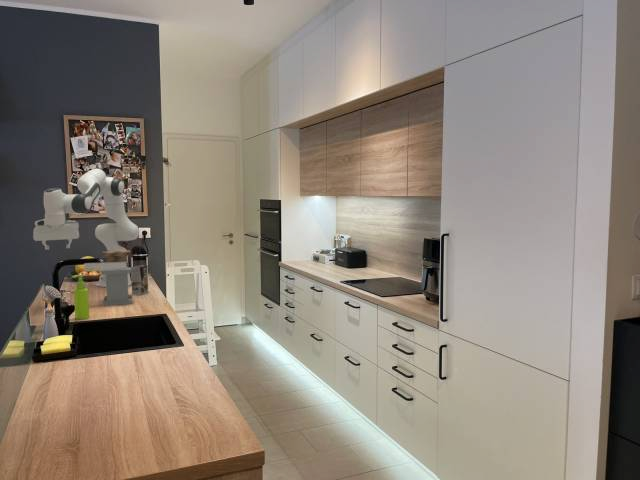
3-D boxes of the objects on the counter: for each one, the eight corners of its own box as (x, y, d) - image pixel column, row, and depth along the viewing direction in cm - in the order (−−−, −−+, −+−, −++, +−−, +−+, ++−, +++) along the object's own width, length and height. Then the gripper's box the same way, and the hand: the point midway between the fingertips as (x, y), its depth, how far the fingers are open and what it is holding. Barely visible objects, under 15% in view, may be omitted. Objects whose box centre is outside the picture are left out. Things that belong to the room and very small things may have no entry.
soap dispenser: (70, 318, 228) (68, 275, 226) (83, 315, 234) (81, 273, 232) (78, 320, 225) (76, 276, 224) (92, 317, 231) (90, 274, 230)
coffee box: (143, 295, 282) (142, 266, 281) (131, 295, 283) (130, 266, 281) (148, 292, 291) (147, 264, 290) (137, 292, 292) (136, 264, 290)
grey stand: (102, 306, 255) (101, 271, 253) (103, 302, 262) (102, 268, 261) (132, 303, 260) (130, 269, 258) (132, 300, 267) (130, 267, 265)
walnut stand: (104, 301, 265) (101, 253, 263) (104, 298, 272) (102, 251, 270) (132, 299, 270) (130, 251, 268) (132, 297, 277) (130, 250, 275)
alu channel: (84, 271, 252) (83, 264, 252) (84, 270, 256) (84, 263, 256) (126, 269, 259) (126, 262, 259) (126, 268, 263) (126, 261, 263)
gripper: (79, 219, 254) (81, 246, 255) (34, 221, 247) (36, 249, 249) (77, 220, 248) (79, 248, 249) (31, 222, 241) (33, 250, 243)
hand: (57, 248), depth 249 cm, fingers open, 8 cm apart
